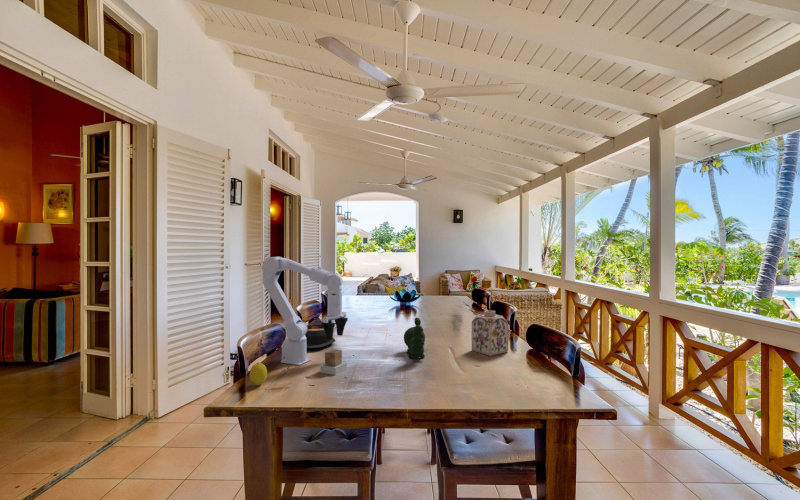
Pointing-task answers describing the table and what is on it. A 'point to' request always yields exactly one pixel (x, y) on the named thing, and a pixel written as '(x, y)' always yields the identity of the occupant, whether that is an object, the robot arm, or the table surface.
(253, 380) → the lemon
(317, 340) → the casserole
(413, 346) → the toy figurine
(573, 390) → the table surface
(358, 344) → the table surface
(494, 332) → the decorative jar
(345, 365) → the grey block
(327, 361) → the walnut block
